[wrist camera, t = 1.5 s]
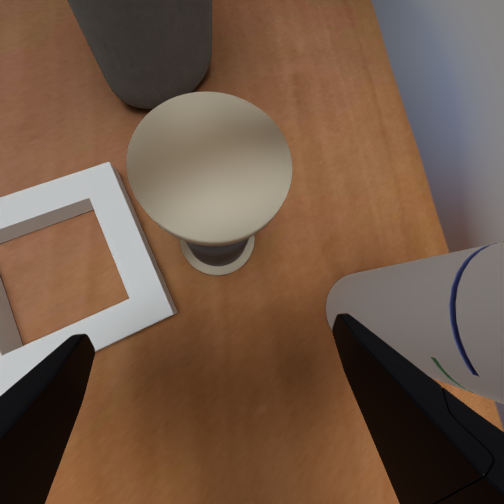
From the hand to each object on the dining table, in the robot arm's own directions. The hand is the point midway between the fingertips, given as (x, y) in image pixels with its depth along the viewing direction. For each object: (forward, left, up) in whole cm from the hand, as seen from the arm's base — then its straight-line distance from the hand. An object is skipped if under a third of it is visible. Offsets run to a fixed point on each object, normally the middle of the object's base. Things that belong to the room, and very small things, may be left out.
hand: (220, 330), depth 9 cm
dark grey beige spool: (+6, -3, -13) cm, 14 cm away
